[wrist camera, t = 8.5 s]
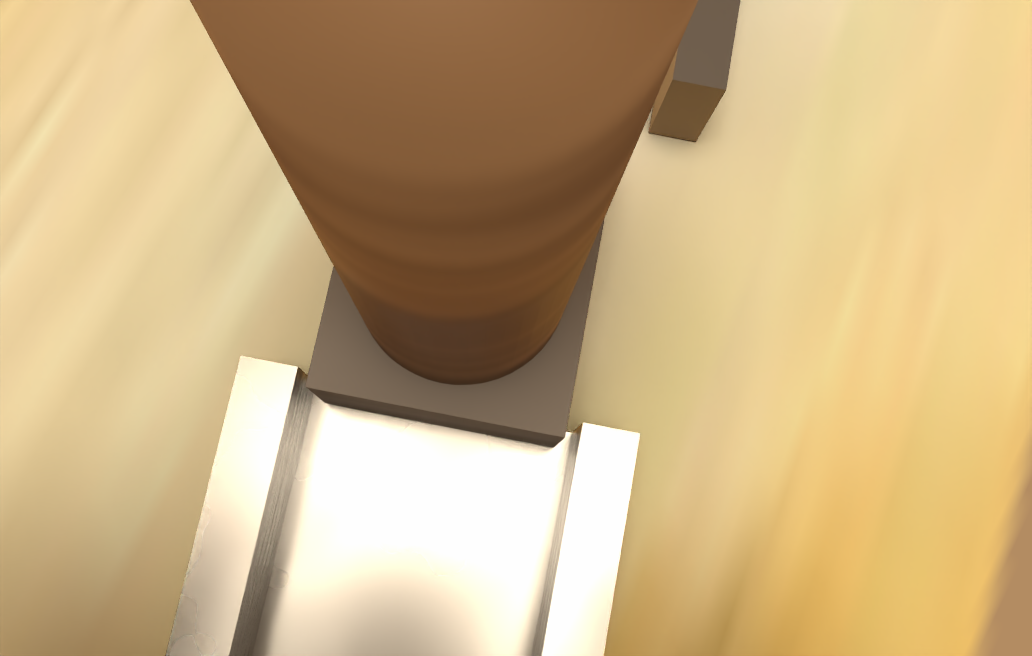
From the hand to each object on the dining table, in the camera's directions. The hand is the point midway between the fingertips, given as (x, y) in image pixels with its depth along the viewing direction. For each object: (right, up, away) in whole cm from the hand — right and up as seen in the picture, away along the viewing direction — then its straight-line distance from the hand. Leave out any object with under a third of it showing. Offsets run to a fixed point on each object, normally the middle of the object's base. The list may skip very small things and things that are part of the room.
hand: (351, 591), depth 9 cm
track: (-1, -3, +9) cm, 10 cm away
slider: (+1, +3, +11) cm, 11 cm away
